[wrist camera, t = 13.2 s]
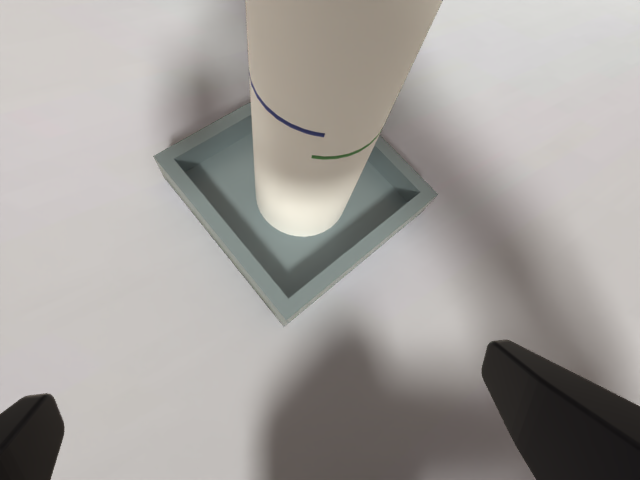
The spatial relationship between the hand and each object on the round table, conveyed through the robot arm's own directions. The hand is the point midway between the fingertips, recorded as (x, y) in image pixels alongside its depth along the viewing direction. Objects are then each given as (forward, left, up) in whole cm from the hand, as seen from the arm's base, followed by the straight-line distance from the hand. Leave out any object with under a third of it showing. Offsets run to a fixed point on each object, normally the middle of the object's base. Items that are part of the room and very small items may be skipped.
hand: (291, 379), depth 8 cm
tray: (+10, -10, -19) cm, 23 cm away
